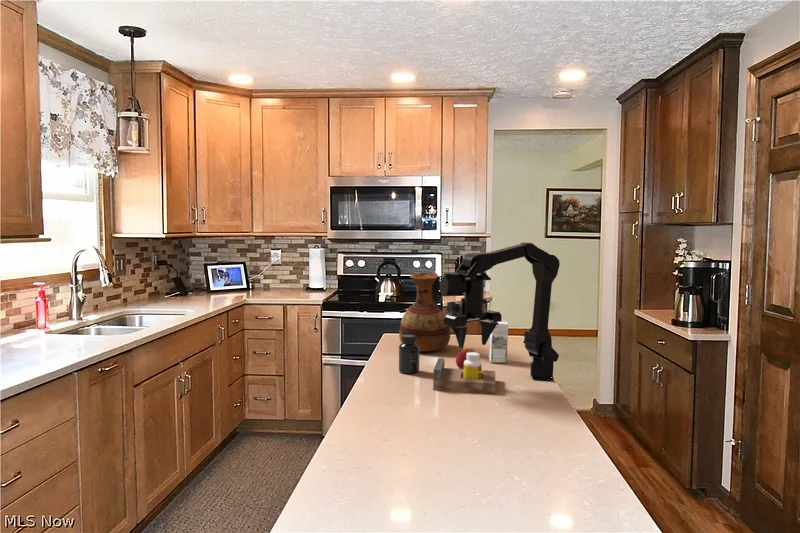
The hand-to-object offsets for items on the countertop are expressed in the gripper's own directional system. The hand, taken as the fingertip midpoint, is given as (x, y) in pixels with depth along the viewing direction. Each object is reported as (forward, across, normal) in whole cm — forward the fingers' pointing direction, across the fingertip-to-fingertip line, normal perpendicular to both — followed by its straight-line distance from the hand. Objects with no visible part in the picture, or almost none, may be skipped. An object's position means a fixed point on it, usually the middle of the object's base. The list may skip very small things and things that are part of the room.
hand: (472, 346), depth 169 cm
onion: (+12, -8, -13) cm, 20 cm away
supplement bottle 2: (+12, 0, 0) cm, 12 cm away
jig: (+12, +1, -1) cm, 12 cm away
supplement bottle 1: (+12, +7, -23) cm, 27 cm away
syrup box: (+12, -28, -16) cm, 34 cm away
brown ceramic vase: (+12, -18, -46) cm, 51 cm away
